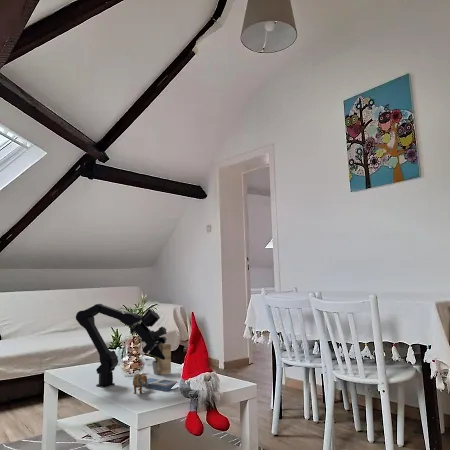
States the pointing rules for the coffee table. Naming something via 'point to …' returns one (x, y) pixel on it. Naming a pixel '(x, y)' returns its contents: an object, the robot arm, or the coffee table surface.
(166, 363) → the oak pillar
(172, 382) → the grey socket
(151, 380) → the blueprint board
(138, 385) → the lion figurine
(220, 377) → the coffee table surface
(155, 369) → the house plant
